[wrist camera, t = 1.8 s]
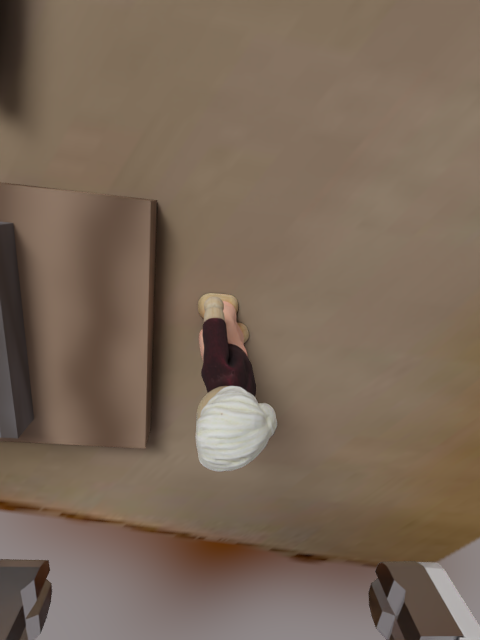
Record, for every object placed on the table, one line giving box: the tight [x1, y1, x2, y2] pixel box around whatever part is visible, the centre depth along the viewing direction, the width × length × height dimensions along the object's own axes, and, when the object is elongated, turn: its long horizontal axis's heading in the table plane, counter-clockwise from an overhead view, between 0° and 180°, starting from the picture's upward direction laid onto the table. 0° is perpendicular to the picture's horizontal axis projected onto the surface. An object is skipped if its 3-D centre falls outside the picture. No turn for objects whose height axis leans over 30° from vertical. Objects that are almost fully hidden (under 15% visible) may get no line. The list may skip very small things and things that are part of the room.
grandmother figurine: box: [196, 293, 277, 471], centre depth 18 cm, size 8×4×13 cm, turn 28°
